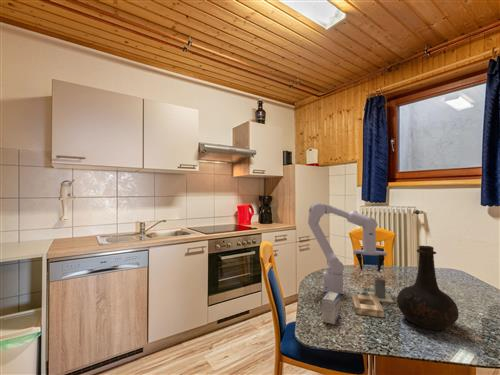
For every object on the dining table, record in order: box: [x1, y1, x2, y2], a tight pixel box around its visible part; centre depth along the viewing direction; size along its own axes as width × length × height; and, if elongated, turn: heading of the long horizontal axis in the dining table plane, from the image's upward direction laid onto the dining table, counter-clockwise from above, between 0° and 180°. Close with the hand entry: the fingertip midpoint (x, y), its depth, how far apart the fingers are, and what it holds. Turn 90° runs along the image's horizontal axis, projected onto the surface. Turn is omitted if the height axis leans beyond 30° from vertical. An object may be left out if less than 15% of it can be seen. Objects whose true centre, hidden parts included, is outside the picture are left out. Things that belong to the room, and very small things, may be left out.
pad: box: [367, 291, 394, 304], centre depth 112 cm, size 9×9×1 cm
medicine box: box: [321, 292, 340, 325], centre depth 93 cm, size 8×4×9 cm, turn 148°
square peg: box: [373, 276, 386, 299], centre depth 112 cm, size 4×4×8 cm
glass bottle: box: [396, 245, 460, 331], centre depth 90 cm, size 18×18×28 cm
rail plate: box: [351, 293, 385, 318], centre depth 102 cm, size 10×14×2 cm
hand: (369, 270), depth 119 cm, fingers open, 7 cm apart
